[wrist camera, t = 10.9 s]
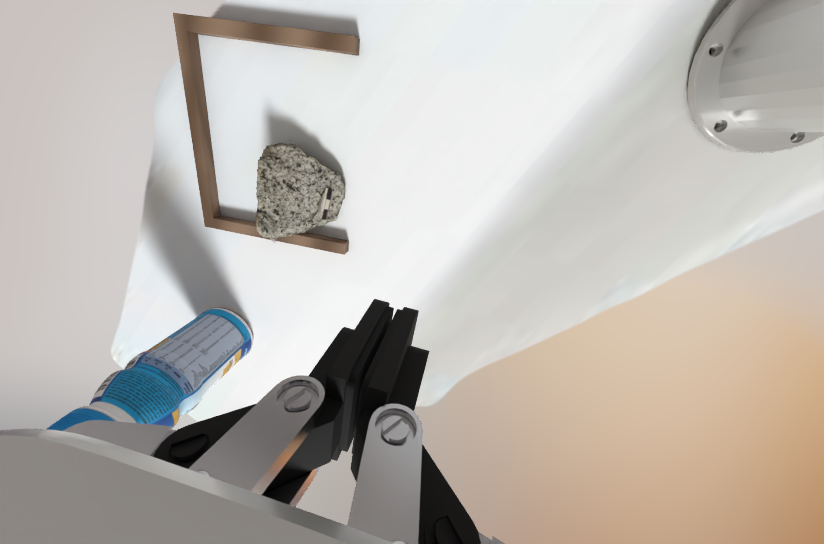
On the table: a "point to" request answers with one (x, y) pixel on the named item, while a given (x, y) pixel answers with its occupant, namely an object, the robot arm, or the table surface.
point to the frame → (198, 115)
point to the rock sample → (295, 192)
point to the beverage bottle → (169, 374)
